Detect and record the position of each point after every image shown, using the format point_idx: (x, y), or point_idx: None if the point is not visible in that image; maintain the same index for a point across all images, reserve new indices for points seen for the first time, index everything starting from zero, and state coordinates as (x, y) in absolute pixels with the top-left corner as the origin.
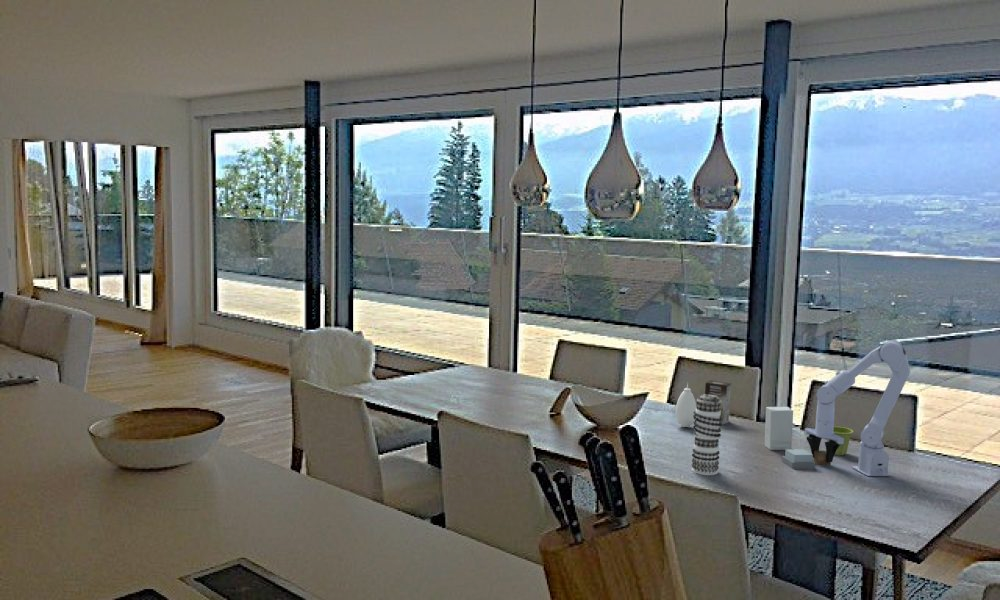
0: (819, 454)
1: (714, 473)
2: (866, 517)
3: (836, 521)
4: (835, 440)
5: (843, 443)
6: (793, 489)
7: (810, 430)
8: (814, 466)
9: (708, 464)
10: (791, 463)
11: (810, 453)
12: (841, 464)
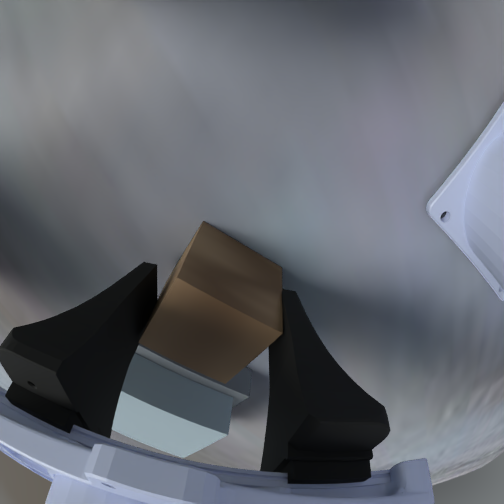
0: (218, 375)
1: None
2: (452, 464)
3: None
4: (345, 495)
5: (425, 461)
6: None
7: (35, 472)
8: (248, 379)
9: None
10: None
11: (202, 426)
12: (329, 174)
